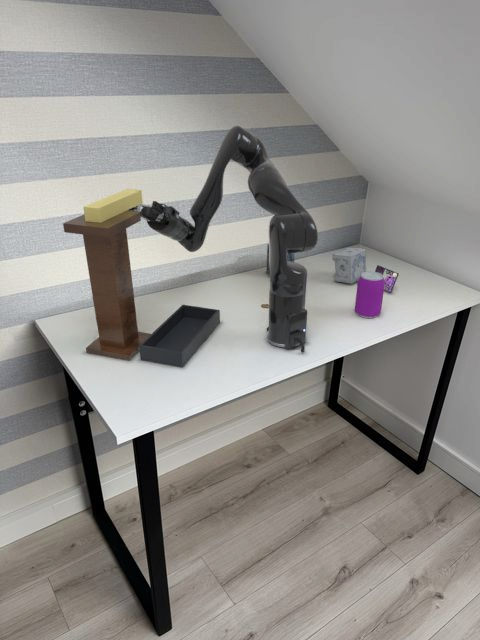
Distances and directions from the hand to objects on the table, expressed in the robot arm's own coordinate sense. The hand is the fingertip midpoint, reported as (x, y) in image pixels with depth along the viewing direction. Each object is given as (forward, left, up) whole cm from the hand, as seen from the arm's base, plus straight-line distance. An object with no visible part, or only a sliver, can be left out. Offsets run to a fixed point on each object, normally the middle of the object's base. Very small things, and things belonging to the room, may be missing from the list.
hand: (138, 203), depth 129 cm
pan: (-16, -1, -32) cm, 36 cm away
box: (+6, -53, -33) cm, 63 cm away
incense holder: (-12, -68, -33) cm, 77 cm away
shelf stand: (-9, +13, -32) cm, 36 cm away
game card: (-24, -73, -33) cm, 84 cm away
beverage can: (-34, -53, -33) cm, 71 cm away
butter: (-6, +9, +1) cm, 11 cm away
